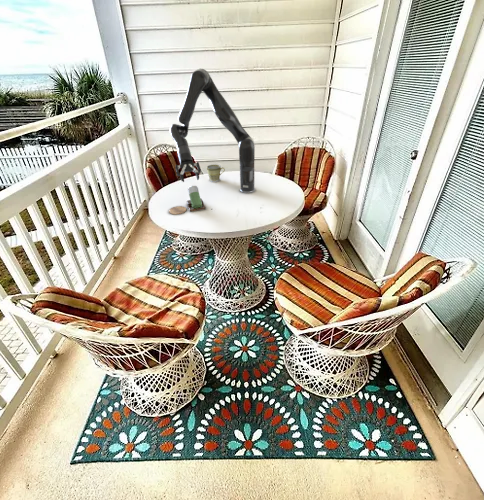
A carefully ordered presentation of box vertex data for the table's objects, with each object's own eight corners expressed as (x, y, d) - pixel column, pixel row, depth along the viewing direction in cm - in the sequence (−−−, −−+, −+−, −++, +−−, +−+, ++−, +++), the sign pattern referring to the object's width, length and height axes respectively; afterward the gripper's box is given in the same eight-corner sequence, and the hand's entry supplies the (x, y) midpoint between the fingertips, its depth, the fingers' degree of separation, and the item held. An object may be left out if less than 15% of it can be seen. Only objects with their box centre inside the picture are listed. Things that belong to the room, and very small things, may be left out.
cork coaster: (175, 206, 164) (175, 205, 164) (189, 208, 161) (189, 207, 161) (165, 213, 157) (165, 212, 157) (180, 215, 154) (180, 214, 153)
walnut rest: (187, 204, 165) (186, 200, 163) (201, 202, 167) (201, 198, 166) (190, 211, 157) (189, 207, 156) (205, 209, 159) (205, 204, 158)
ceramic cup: (206, 182, 195) (204, 168, 190) (209, 177, 203) (208, 164, 198) (224, 183, 193) (223, 169, 188) (226, 178, 201) (226, 164, 196)
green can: (189, 205, 166) (186, 184, 160) (199, 203, 167) (196, 183, 161) (193, 212, 156) (190, 190, 149) (203, 210, 157) (200, 189, 151)
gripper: (172, 153, 157) (178, 179, 155) (196, 150, 161) (203, 175, 158) (173, 160, 164) (178, 185, 162) (196, 157, 168) (202, 181, 165)
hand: (190, 180), depth 160 cm, fingers open, 8 cm apart
